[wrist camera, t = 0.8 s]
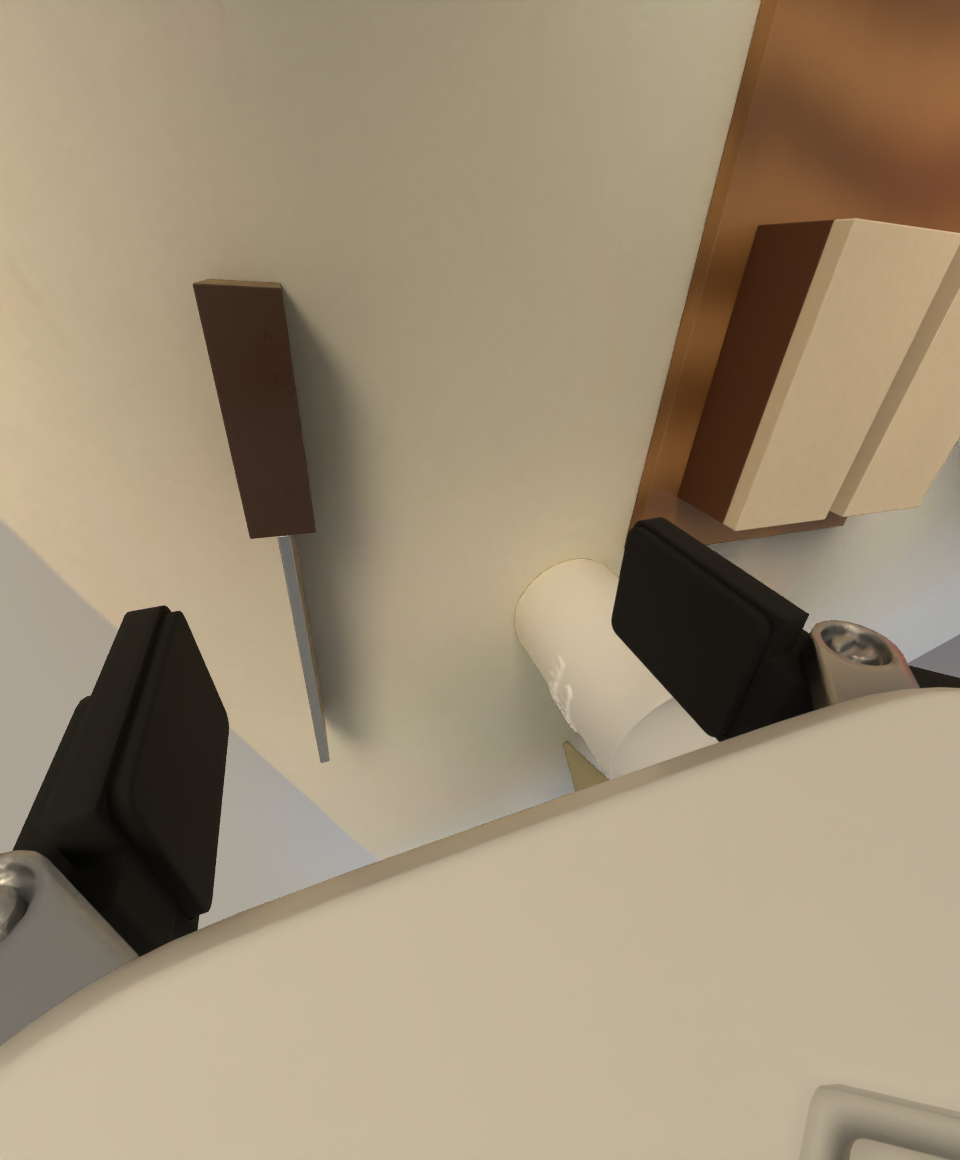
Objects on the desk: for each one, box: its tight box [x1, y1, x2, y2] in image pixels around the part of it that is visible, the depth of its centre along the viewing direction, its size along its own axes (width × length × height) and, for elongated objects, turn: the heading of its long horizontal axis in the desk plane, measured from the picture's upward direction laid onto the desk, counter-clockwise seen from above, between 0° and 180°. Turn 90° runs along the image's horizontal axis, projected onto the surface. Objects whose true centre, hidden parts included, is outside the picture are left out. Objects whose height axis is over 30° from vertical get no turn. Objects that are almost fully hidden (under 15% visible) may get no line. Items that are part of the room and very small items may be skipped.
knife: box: [193, 279, 329, 763], centre depth 23 cm, size 24×3×4 cm, turn 176°
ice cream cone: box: [564, 742, 609, 792], centre depth 37 cm, size 5×5×15 cm
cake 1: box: [677, 218, 960, 531], centre depth 26 cm, size 14×7×5 cm, turn 176°
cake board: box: [624, 0, 960, 548], centre depth 27 cm, size 30×20×1 cm, turn 176°
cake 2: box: [829, 245, 960, 517], centre depth 29 cm, size 14×7×5 cm, turn 176°
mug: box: [515, 559, 719, 780], centre depth 30 cm, size 8×12×12 cm
